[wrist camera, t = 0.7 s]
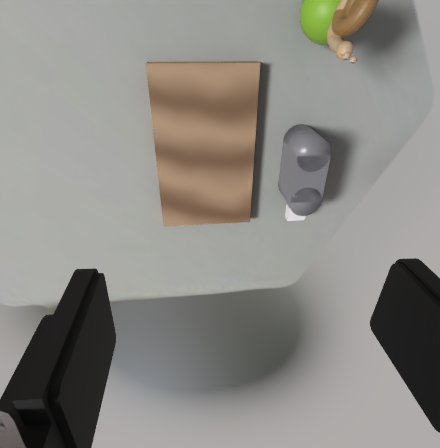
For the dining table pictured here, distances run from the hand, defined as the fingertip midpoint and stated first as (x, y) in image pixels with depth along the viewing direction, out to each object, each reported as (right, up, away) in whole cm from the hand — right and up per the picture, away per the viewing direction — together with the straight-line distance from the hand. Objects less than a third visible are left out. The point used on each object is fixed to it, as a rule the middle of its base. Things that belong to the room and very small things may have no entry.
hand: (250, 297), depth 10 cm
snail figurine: (+9, +24, +23) cm, 34 cm away
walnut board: (-3, +12, +29) cm, 32 cm away
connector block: (+9, +11, +31) cm, 34 cm away
